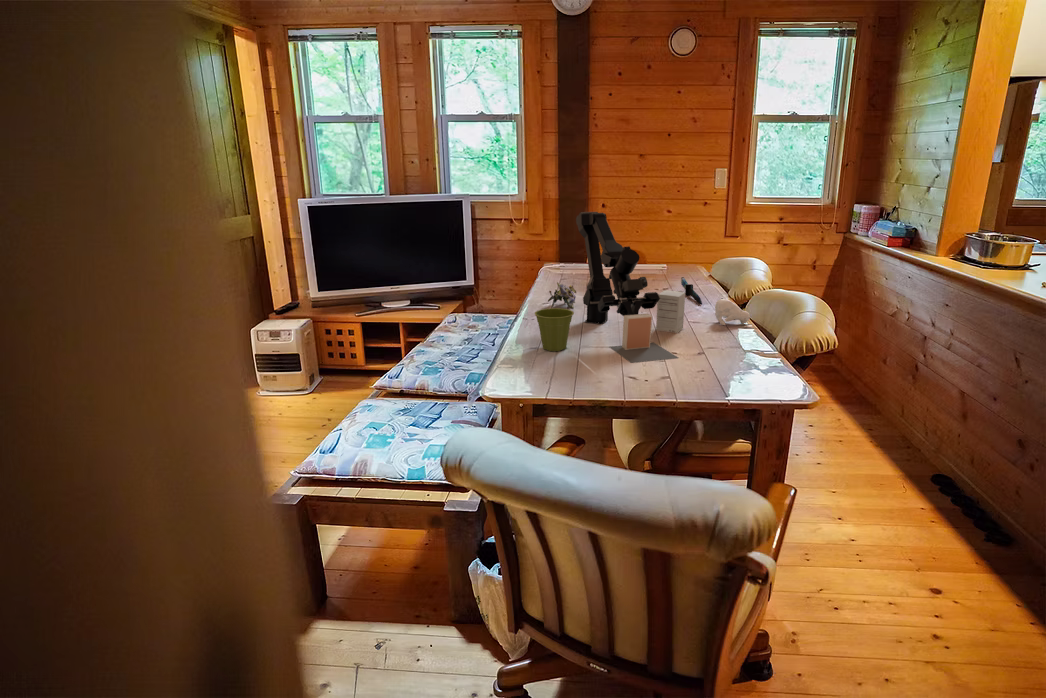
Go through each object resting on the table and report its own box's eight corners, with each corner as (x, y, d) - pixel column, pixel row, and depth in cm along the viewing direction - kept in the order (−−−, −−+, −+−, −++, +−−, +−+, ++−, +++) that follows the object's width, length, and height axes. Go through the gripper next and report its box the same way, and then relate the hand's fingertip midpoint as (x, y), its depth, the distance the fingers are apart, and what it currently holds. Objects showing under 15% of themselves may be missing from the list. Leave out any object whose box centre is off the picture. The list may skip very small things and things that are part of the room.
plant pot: (563, 340, 195) (563, 306, 191) (580, 351, 184) (580, 315, 181) (528, 345, 191) (528, 310, 187) (543, 356, 180) (543, 319, 177)
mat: (609, 347, 187) (609, 346, 187) (653, 343, 191) (653, 342, 191) (631, 363, 173) (631, 362, 172) (679, 359, 176) (679, 358, 176)
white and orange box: (621, 346, 186) (623, 315, 183) (646, 344, 188) (648, 313, 185) (625, 350, 184) (627, 318, 180) (650, 347, 186) (652, 316, 182)
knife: (679, 286, 266) (680, 276, 264) (686, 286, 266) (687, 276, 264) (694, 310, 238) (695, 299, 236) (702, 310, 238) (703, 299, 236)
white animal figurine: (715, 296, 213) (750, 300, 212) (710, 320, 216) (745, 324, 215) (718, 300, 207) (754, 304, 206) (714, 325, 210) (749, 329, 209)
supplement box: (662, 325, 210) (664, 289, 206) (683, 328, 207) (686, 292, 203) (655, 331, 204) (657, 294, 200) (676, 334, 201) (679, 296, 197)
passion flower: (571, 321, 238) (575, 301, 228) (543, 315, 238) (547, 295, 229) (575, 300, 244) (580, 279, 235) (548, 294, 245) (552, 274, 235)
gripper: (602, 269, 183) (615, 314, 176) (658, 266, 188) (674, 309, 181) (591, 290, 193) (604, 333, 186) (646, 286, 197) (660, 328, 190)
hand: (636, 325), depth 185 cm, fingers closed
